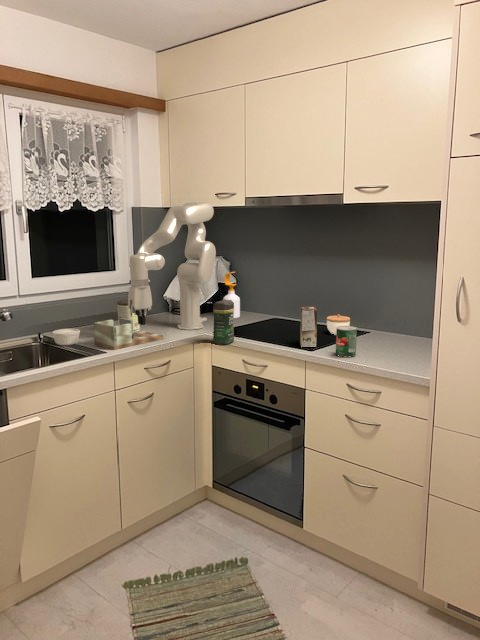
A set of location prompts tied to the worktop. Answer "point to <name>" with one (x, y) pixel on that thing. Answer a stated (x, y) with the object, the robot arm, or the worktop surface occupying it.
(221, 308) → the coffee jar
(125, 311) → the coffee can
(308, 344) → the coffee box
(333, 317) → the lidded jar
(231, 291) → the soap bottle
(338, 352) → the canned tomato
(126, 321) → the trolley
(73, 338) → the ramekin
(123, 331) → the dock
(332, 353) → the worktop surface
